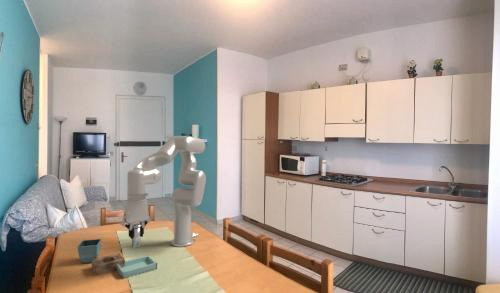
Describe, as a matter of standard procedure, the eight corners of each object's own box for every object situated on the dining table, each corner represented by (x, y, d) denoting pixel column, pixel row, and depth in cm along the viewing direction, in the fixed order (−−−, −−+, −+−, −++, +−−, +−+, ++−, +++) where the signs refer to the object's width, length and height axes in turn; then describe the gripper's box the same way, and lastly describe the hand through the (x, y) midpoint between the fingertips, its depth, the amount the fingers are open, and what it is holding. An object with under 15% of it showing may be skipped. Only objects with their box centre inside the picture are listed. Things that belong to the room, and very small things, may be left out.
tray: (148, 260, 142) (148, 255, 142) (157, 268, 133) (157, 263, 133) (116, 269, 132) (116, 263, 132) (123, 278, 124) (123, 272, 124)
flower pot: (77, 265, 136) (76, 246, 135) (82, 257, 144) (82, 240, 144) (97, 263, 138) (97, 245, 138) (102, 256, 146) (101, 238, 146)
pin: (139, 243, 135) (139, 222, 135) (143, 246, 132) (143, 224, 131) (129, 245, 132) (129, 224, 132) (132, 248, 129) (132, 226, 128)
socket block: (119, 261, 141) (119, 253, 140) (124, 268, 134) (124, 259, 133) (91, 268, 133) (91, 259, 133) (96, 275, 126) (95, 266, 126)
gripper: (151, 193, 139) (151, 231, 140) (114, 198, 129) (114, 238, 130) (157, 196, 134) (157, 235, 134) (119, 201, 123) (119, 243, 124)
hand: (136, 236), depth 132 cm, fingers closed on pin, 3 cm apart
